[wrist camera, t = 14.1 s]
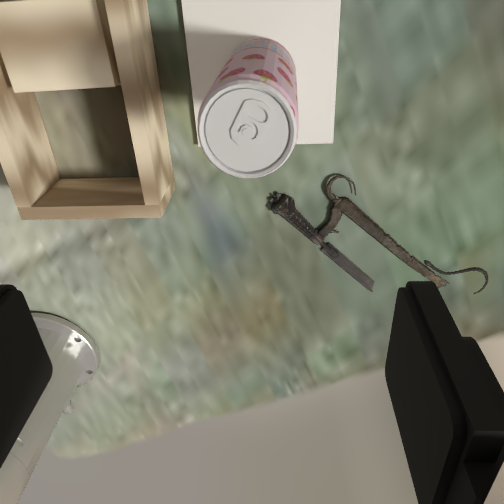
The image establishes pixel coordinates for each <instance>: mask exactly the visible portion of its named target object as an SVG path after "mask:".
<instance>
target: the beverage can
mask: <svg viewBox="0 0 504 504" xmlns="http://www.w3.org/2000/svg"><path fill="white" fill-rule="evenodd" d="M197 120H198V123H197V125H198V137H199V142H200V145H201V147H202V149H203V151H204V153H205V155H206V156H207V158H208V159H209V160H210V162H212V163H213V164H214V165H215V166H216V167H217V168H218V169H220V170H222V171H223V172H225V173H227V174H229V175H232V176H235V177H240V178H257V177H262V176H265V175H267V174H270V173H272V172H274V171H275V170H276V169H278V168H279V167H281V166H282V165H283V163H284V162H285V161H286V160H287V159H288V157H289V156H290V154H291V152H292V151H293V148H294V147H295V144H296V141H297V138H298V131H299V117H298V99H297V81H296V68H295V64H294V61H293V58H292V57H291V55H290V53H289V52H288V50H287V49H286V48H285V47H284V46H283V45H281V44H280V43H279V42H277V41H275V40H272V39H269V38H263V37H261V38H253V39H250V40H247V41H245V42H243V43H242V44H240V45H239V46H238V47H237V48H236V49H235V50H234V52H233V53H232V54H231V56H230V57H229V59H228V61H227V62H226V64H225V66H224V67H223V69H222V70H221V72H220V74H219V75H218V77H217V78H216V80H215V82H214V83H213V85H212V86H211V88H210V90H209V91H208V93H207V94H206V96H205V98H204V99H203V102H202V104H201V106H200V109H199V114H198V119H197Z"/></svg>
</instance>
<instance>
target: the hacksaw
mask: <svg viewBox="0 0 504 504" xmlns="http://www.w3.org/2000/svg"><path fill="white" fill-rule="evenodd" d="M337 178H346V179H348V180H349V181H351V182H352V184H353V186H354V191H355V195H356V189H355V184H354V182H353V181H352V180H351V179H350V178H348V177H346V176H343V175H341V176H335V177H333V178H332V179H331V180H330V181H329V182H328V184H327V186H326V192H327V195H328V196H329V198H330V199H331V200H332V202H334V205H333V207H332V208H331V215H330V217H331V218H330V219H329V221H328V222H327V223H326V224H325V225H324V226H323V227H322V228H321V229H320V230H319V231H318V230H317V229H315V228H314V227H313V226H312V225H311V224H310V223H309V222H308V221H307V220H306V219H305V218H304V217H303V216H302V215H301V214H300V213H299V212H298V211H297V210H296V208H295V203H294V199H293V198H292V197H289V196H288V195H286V194H284V195H282V196H281V194H280V193H277V194H276V196H277V197H276V196H275V195H273V197H274V198H271V199H270V202H274V201H275V202H274V204H273V205H272V209H271V210H272V211H273V213H274V214H280V215H281V216H282V217H283V218H285V219H286V220H287V221H289V222H290V223H292V224H293V225H294V226H295V227H296V228H298V229H299V230H300V231H301V232H303V233H304V234H305V235H306V236H307V237H308V238H309V239H311V240H312V241H313V242H314V243H315V244H317V245H319V244H320V245H322V246H323V247H324V248H322V249H321V250H322V252H323V253H325V254H326V255H327V256H329V257H330V258H331V259H332V260H333V261H334V262H335V263H337V264H338V265H339V266H341V267H342V268H343V270H345V271H346V272H347V273H349V274H350V275H351V276H352V277H354V278H355V279H356V280H358V281H359V282H360V283H361V284H362V285H363V286H364V287H365V288H366V289H368V290H370V291H371V292H373V290H372V289H370V288H372V287H373V284H374V281H373V280H372V279H371V278H370V277H369V276H367V275H366V274H365V273H364V272H363V271H362V270H361V269H359V268H358V267H357V266H356V265H355V264H354V263H353V262H351V261H350V260H349V259H348V258H347V257H346V256H344V255H343V254H342V253H341V252H340V251H339V250H337V249H336V248H335V247H334V246H333V245H332V244H330V243H328V244H326V243H325V242H324V241H323V240H324V238H325V237H326V236H327V235H328V234H329V233H334V232H331V231H332V230H333V229H334V228H335V227H336V226H337V224H338V222H339V221H340V218H341V216H342V212H343V213H345V214H346V215H347V216H349V217H350V218H351V219H352V220H353V221H354V222H356V223H357V224H358V225H359V226H361V227H362V228H363V229H364V230H365V231H367V232H368V233H369V234H370V235H371V236H373V237H374V238H375V239H376V240H378V241H379V242H380V243H381V244H382V245H384V246H385V247H386V248H387V249H388V250H390V251H391V252H392V253H393V254H395V255H396V256H397V257H398V258H400V259H401V260H402V261H403V262H405V263H406V264H407V265H409V266H410V267H412V268H413V269H414V270H416V271H417V272H419V273H421V274H422V275H423V276H424V277H427V278H428V279H429V280H430V281H433V282H435V284H436V286H437V288H439V287H441V286H446V284H447V283H448V284H449V282H446V280H444V279H443V278H441V277H439V276H437V275H435V273H434V272H433V271H431V270H430V269H429V268H428V267H427V266H429V267H431V268H432V269H433V270H436V271H437V272H439V273H440V274H445V275H450V274H458V273H463V272H468V271H479V272H482V273H483V274H484V275H485V278H486V282H485V284H484V286H483V288H482V289H480V290H479V291H478V292H480V291H481V290H483V289H484V288H485V286H486V285H487V282H488V274H487V272H486V271H484V270H483V269H481V268H476V267H475V268H468V269H464V270H460V271H455V272H447V273H446V272H443V271H441V270H439V269H437V268H436V267H434V265H432V264H431V262H430V261H427V260H424V262H425V264H426V265H427V266H425V265H424V264H423V263H421V262H420V261H419V260H418V259H416V258H415V257H414V256H410V254H409V252H407V251H406V250H405V249H404V248H403V247H402V246H401V245H398V244H397V242H396V241H395V240H394V239H393V238H391V236H390V235H389V234H386V233H385V232H384V231H383V229H381V228H380V227H379V225H377V224H376V223H375V222H374V221H373V220H372V219H370V217H368V216H367V215H366V214H365V213H364V212H363V211H362V210H361V209H360V208H359V207H358V206H356V205H355V204H354V203H353V202H352V201H351V200H350V199H349V198H339V197H337V195H336V196H334V195H333V193H332V192H331V185H332V183H333V181H334V180H336V179H337ZM280 196H281V197H280ZM336 233H339V231H336ZM442 279H443V280H442ZM445 283H446V284H445ZM442 284H445V285H442ZM478 292H475V293H474V294H476V293H478Z"/></svg>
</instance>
